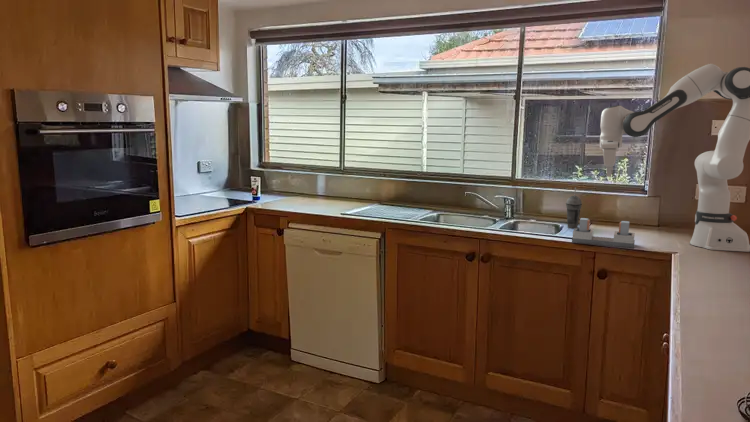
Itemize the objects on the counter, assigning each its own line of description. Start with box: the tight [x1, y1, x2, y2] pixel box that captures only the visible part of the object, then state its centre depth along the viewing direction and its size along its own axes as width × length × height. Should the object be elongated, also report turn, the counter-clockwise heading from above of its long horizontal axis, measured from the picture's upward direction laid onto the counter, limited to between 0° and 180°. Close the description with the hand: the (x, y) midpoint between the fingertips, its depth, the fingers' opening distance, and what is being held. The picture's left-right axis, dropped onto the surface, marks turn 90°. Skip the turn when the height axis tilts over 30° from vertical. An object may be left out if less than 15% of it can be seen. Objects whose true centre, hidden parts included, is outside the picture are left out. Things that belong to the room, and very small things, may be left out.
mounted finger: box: [618, 220, 630, 235], centre depth 223 cm, size 4×4×8 cm
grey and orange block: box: [578, 217, 591, 232], centre depth 229 cm, size 4×4×8 cm
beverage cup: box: [565, 187, 583, 229], centre depth 261 cm, size 7×7×20 cm
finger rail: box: [571, 227, 636, 249], centre depth 227 cm, size 24×8×5 cm, turn 63°
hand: (609, 175), depth 235 cm, fingers open, 8 cm apart
